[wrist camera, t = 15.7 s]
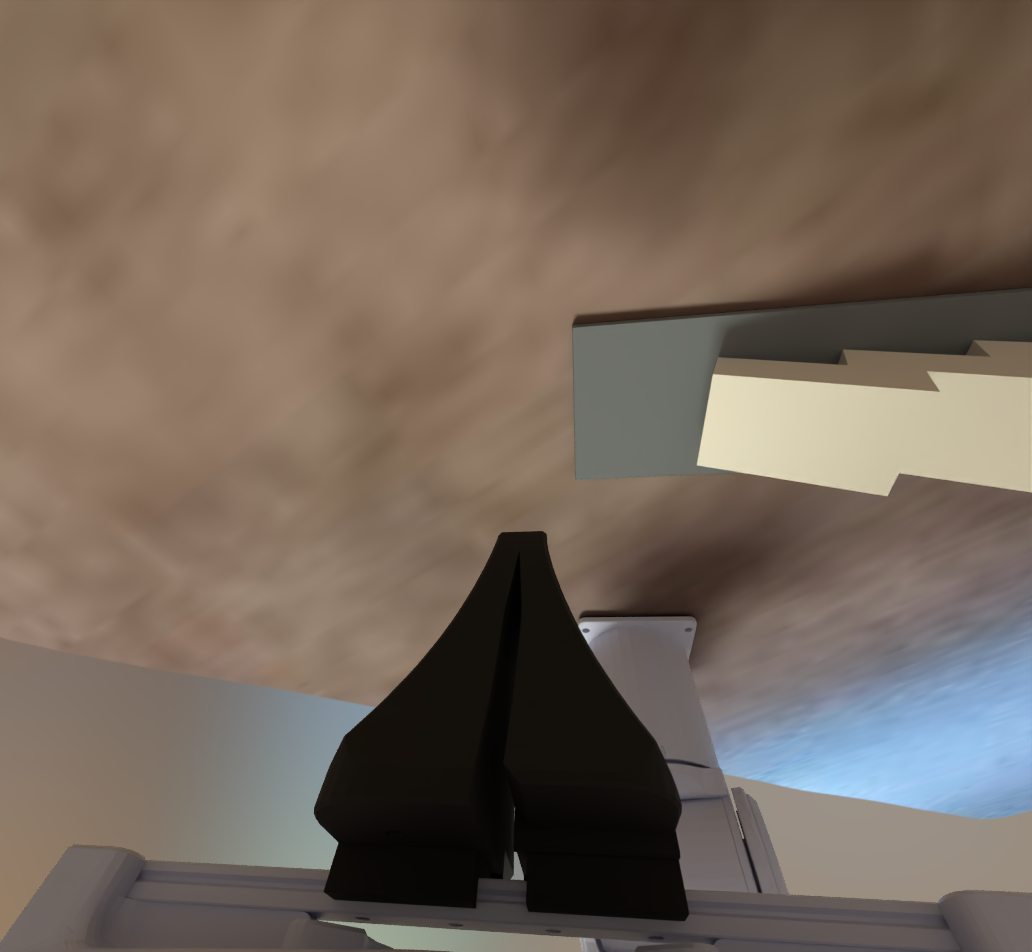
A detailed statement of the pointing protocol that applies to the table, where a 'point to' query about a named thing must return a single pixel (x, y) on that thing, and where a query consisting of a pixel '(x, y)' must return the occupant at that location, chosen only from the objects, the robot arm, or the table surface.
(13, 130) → the table surface
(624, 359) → the mat
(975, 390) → the domino
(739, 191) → the table surface
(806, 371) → the domino
